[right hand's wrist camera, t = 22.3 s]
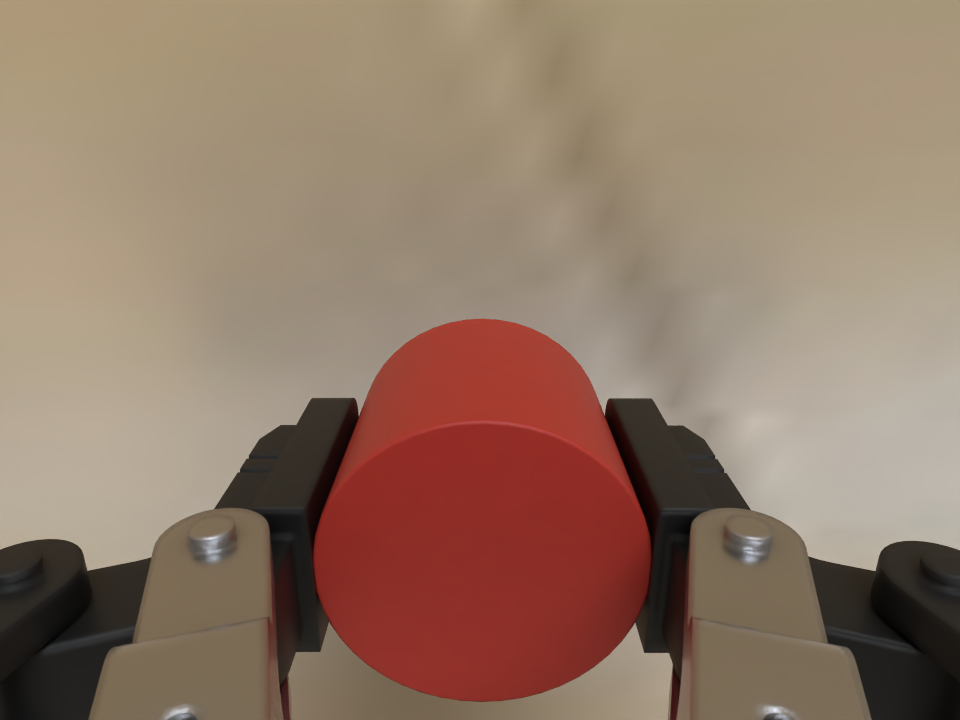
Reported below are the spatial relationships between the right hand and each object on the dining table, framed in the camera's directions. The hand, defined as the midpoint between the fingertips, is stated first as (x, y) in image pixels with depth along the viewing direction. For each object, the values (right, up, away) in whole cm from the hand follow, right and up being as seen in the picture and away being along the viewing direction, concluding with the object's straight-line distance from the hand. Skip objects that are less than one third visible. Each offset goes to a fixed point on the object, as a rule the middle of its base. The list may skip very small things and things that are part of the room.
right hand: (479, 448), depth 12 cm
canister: (0, 0, 0) cm, 1 cm away
